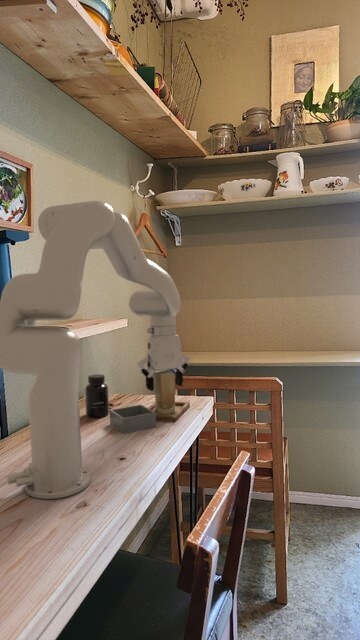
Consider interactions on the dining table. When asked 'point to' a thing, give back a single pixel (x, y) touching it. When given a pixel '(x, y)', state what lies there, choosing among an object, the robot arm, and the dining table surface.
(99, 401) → the supplement bottle
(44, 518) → the dining table surface
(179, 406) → the tray
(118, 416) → the holder
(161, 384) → the skincare box
